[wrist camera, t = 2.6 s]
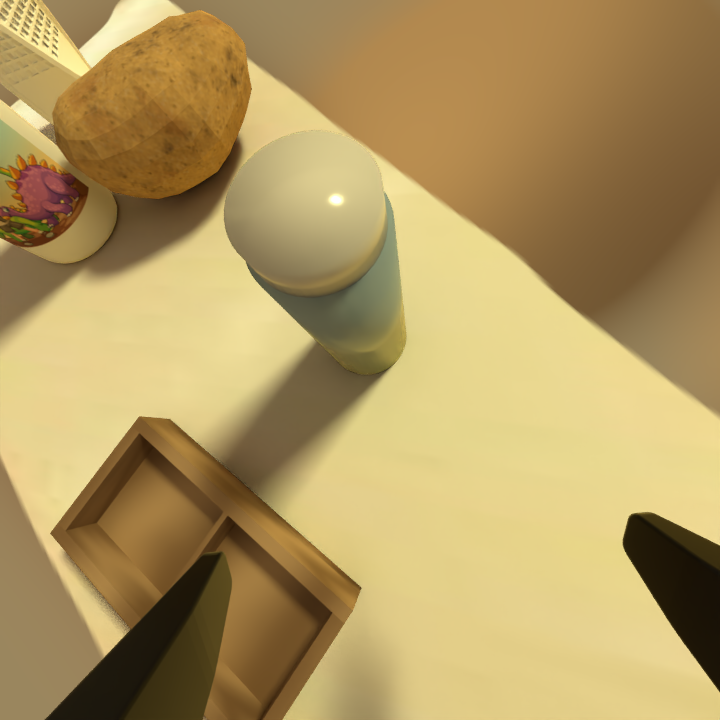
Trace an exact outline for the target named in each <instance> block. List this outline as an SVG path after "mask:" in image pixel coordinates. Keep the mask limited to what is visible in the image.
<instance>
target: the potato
mask: <svg viewBox="0 0 720 720" xmlns="http://www.w3.org/2000/svg"><path fill="white" fill-rule="evenodd" d="M251 90H252V88H251V83H250V78H249V72H248V65H247V57H246V49H245V43H244V42H243V41H242V40H241V38H239V36H238V35H237V34H236V32H235V31H234V30H233V29H232V28H231V27H229V26H228V25H227V24H225V23H223V22H222V21H220V20H219V19H217V18H216V17H215V16H213V15H211V14H208V13H206V12H204V11H201V10H198V11H195V12H190V13H186V14H183V15H179V16H169V17H168V18H166V19H164V20H163V21H161V22H160V23H158V24H157V25H155V26H153V27H152V28H150V29H148V30H147V31H145V32H143V33H141V34H139V35H138V36H136V37H134V38H132V39H130V40H129V41H127V42H125V43H124V44H122V45H120V46H119V47H117V48H115V49H114V50H112V51H111V52H109V53H108V54H107V55H106V56H105V57H104V58H103V59H102V60H101V61H100V62H99V63H97V64H96V65H95V66H94V67H93V68H92V69H91V70H89V71H88V72H87V73H85V74H84V75H83V76H81V77H80V78H79V79H77V80H76V81H75V82H73V83H72V84H71V85H70V86H69V87H68V88H67V89H66V90H65V91H64V92H63V93H62V94H61V95H60V96H59V97H58V99H57V102H56V104H55V107H54V110H53V112H52V117H53V124H54V130H55V136H56V142H57V146H58V148H59V149H60V150H61V152H62V153H63V155H64V156H65V158H66V159H67V161H68V162H69V163H70V164H71V165H73V166H74V167H76V168H77V169H78V170H80V171H81V172H82V173H84V174H85V175H86V176H88V177H89V178H90V179H92V180H94V181H95V182H97V183H99V184H100V185H102V186H104V187H105V188H107V189H109V190H110V191H112V192H116V193H120V194H125V195H129V196H134V197H138V198H152V199H161V198H165V197H169V196H173V195H177V194H180V193H182V192H184V191H186V190H188V189H190V188H192V187H194V186H196V185H197V184H199V183H201V182H202V181H204V180H205V179H207V178H208V177H210V176H212V175H213V174H215V173H216V172H218V170H219V169H220V167H221V166H222V164H223V163H224V161H225V160H226V158H227V157H228V155H229V154H230V152H231V149H232V146H233V144H234V142H235V140H236V138H237V136H238V133H239V130H240V128H241V125H242V123H243V120H244V117H245V114H246V111H247V107H248V103H249V98H250V94H251Z"/></svg>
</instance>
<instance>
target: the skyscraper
mask: <svg viewBox="0 0 720 720" xmlns="http://www.w3.org/2000/svg"><path fill="white" fill-rule="evenodd" d="M89 70H91V67H90V66H89V64H88V63H87V61H86V60H85V59H84V57H83V56H82V54H81V53H80V52H79V50H78V49H77V47H76V46H75V45H74V43H73V42H72V40H71V39H70V38H69V36H68V35H67V34H66V32H65V31H64V30H63V28H62V27H61V25H60V24H59V23H58V21H57V20H56V19H55V17H54V16H53V14H52V13H51V12H50V11H49V9H48V8H47V7H46V5H45V4H44V3H43V1H42V0H0V83H1V84H2V85H3V86H4V87H6V88H7V89H8V90H9V91H11V92H12V93H13V94H14V95H16V96H17V97H18V98H19V99H21V100H22V101H23V102H25V103H26V104H27V105H28V106H30V107H31V108H32V109H33V110H35V111H36V112H37V113H38V114H40V115H41V116H42V117H43V118H45V119H46V120H47V121H48V122H50V123H51V124H52V125H53V126H54V124H53V117H52V112H53V110H54V107H55V104H56V102H57V99H58V97H59V96H60V95H61V94H62V93H63V92H64V91H65V90H66V89H67V88H68V87H69V86H70V85H71V84H72V83H73V82H75V81H76V80H77V79H79V78H80V77H81V76H83V75H84V74H85V73H87V72H88V71H89Z"/></svg>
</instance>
